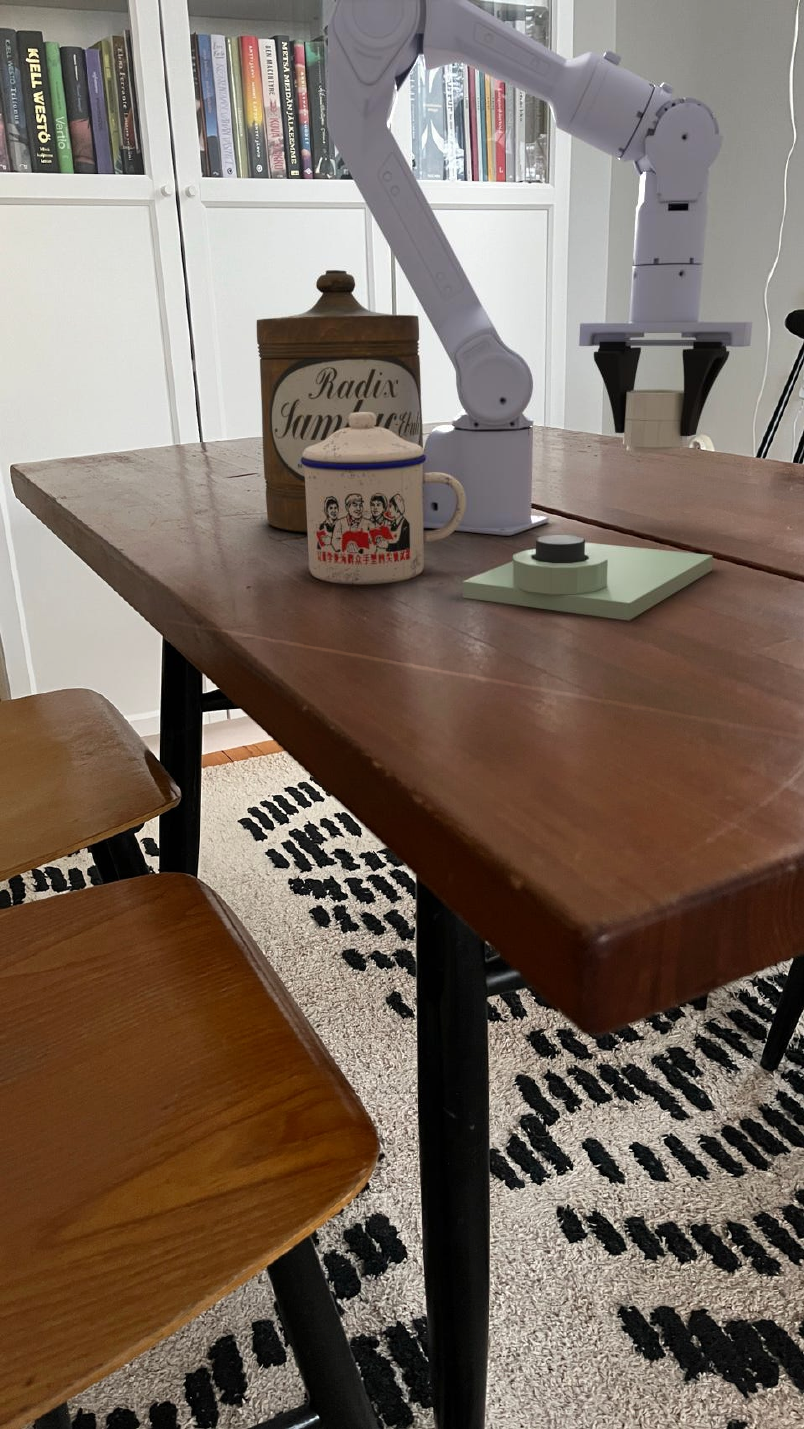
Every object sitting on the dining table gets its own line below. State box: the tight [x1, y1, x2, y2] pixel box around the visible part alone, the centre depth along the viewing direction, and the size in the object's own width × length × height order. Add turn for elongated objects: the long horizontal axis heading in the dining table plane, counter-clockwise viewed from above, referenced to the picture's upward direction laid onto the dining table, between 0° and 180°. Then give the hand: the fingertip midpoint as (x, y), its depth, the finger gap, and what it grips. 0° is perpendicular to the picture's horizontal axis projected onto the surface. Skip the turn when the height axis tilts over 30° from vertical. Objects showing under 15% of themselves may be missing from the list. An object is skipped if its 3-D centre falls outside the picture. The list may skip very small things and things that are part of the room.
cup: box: [622, 388, 688, 454], centre depth 93 cm, size 5×6×5 cm
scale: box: [461, 541, 714, 621], centre depth 74 cm, size 16×12×3 cm
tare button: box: [535, 534, 586, 563], centre depth 70 cm, size 3×3×2 cm
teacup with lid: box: [301, 412, 466, 586], centre depth 78 cm, size 12×9×12 cm
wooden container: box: [256, 269, 424, 533], centre depth 97 cm, size 15×15×22 cm
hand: (655, 433), depth 93 cm, fingers closed on cup, 5 cm apart
